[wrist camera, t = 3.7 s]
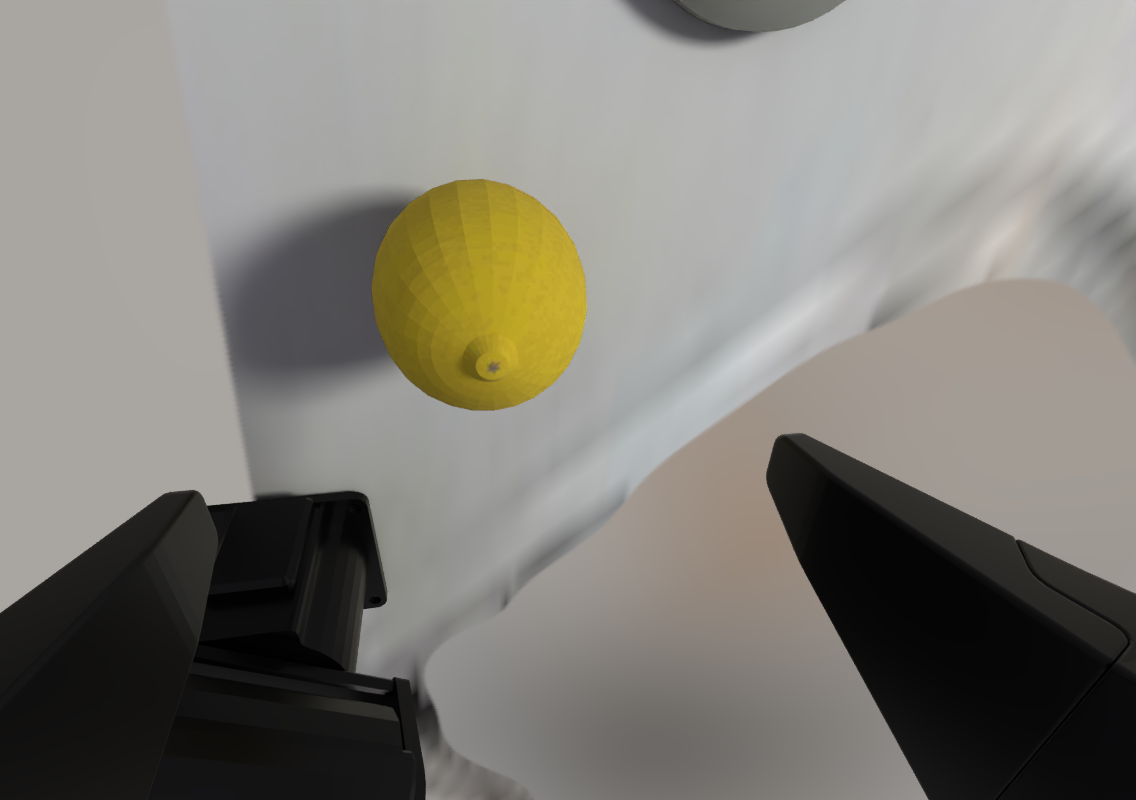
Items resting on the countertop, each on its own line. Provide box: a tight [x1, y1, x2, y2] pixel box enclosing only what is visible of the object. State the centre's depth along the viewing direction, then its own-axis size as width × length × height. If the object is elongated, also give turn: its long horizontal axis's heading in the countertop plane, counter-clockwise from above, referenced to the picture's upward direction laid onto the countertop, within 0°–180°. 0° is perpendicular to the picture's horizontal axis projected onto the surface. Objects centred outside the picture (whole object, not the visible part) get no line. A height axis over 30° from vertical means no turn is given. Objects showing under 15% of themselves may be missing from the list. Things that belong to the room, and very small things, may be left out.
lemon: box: [372, 179, 587, 410], centre depth 16 cm, size 6×6×8 cm
